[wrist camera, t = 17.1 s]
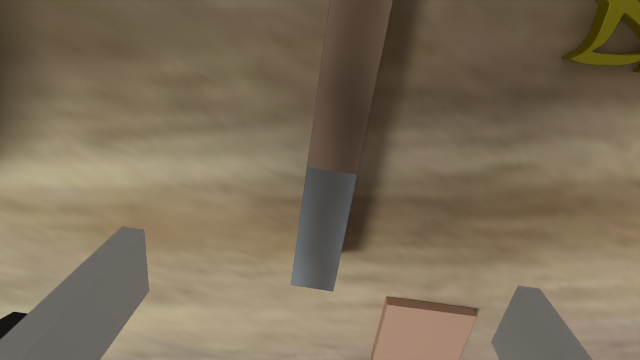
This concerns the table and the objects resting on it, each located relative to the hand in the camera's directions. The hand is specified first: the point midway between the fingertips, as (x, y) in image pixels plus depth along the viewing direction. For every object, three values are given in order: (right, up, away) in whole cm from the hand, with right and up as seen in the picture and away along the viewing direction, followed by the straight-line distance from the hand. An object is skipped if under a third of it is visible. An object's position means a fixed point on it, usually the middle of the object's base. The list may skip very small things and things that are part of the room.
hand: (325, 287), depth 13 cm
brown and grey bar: (+1, +9, +20) cm, 22 cm away
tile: (+12, -10, +27) cm, 32 cm away
